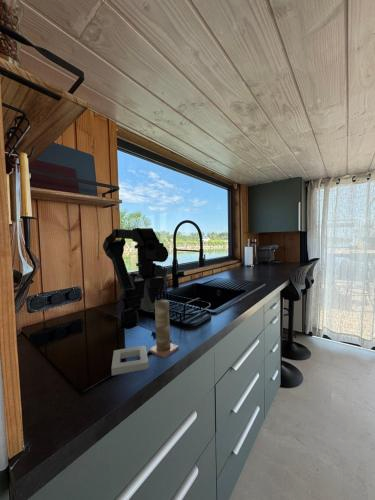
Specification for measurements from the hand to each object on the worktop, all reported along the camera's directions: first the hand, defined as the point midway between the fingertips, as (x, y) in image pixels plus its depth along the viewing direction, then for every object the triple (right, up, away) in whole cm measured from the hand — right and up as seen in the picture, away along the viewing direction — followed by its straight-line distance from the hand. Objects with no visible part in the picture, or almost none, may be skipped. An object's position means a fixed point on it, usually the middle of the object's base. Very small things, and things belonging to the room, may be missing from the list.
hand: (147, 300), depth 86 cm
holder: (-2, -15, -18) cm, 24 cm away
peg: (+8, -13, -12) cm, 19 cm away
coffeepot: (-3, -11, +28) cm, 30 cm away
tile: (+8, -14, -12) cm, 20 cm away
